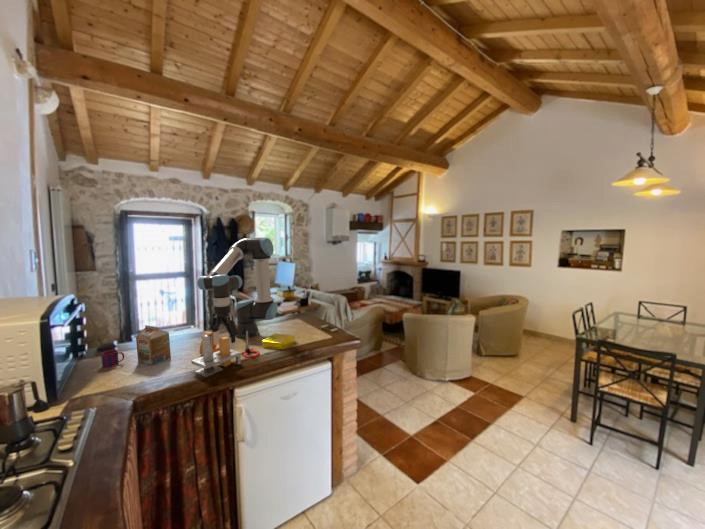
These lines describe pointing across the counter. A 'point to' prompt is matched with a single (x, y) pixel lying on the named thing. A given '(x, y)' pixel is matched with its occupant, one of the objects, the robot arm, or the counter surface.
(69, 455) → the counter surface
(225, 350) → the wedge pin
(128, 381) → the counter surface
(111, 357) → the mug
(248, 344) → the tow hook
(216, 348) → the bracket
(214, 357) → the windowed plate knob
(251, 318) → the robot arm
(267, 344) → the element tile
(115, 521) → the counter surface
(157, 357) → the milk carton
